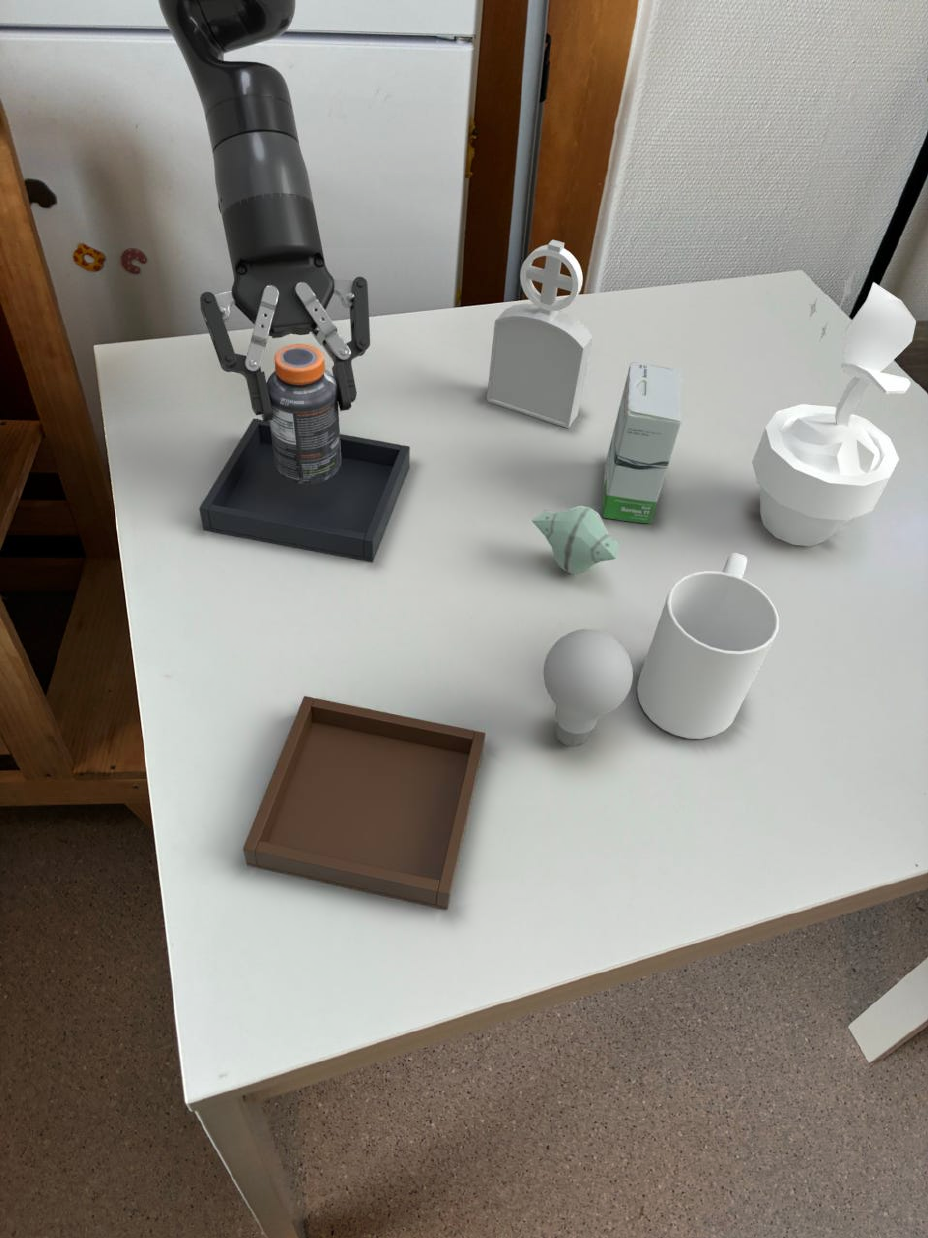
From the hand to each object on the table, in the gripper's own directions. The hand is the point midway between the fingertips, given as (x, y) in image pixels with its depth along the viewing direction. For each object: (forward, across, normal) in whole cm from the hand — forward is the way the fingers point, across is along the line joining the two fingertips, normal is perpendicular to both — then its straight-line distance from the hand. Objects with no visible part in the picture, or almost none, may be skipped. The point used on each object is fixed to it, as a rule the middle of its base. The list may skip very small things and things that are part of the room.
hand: (307, 413), depth 75 cm
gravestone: (+1, +26, +15) cm, 29 cm away
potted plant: (+17, +43, -2) cm, 46 cm away
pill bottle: (+4, 0, +6) cm, 7 cm away
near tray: (+30, -3, -15) cm, 33 cm away
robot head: (+17, +20, -2) cm, 27 cm away
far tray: (+6, 0, +8) cm, 11 cm away
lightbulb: (+29, +13, -14) cm, 34 cm away
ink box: (+11, +30, +4) cm, 32 cm away
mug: (+27, +25, -12) cm, 39 cm away
